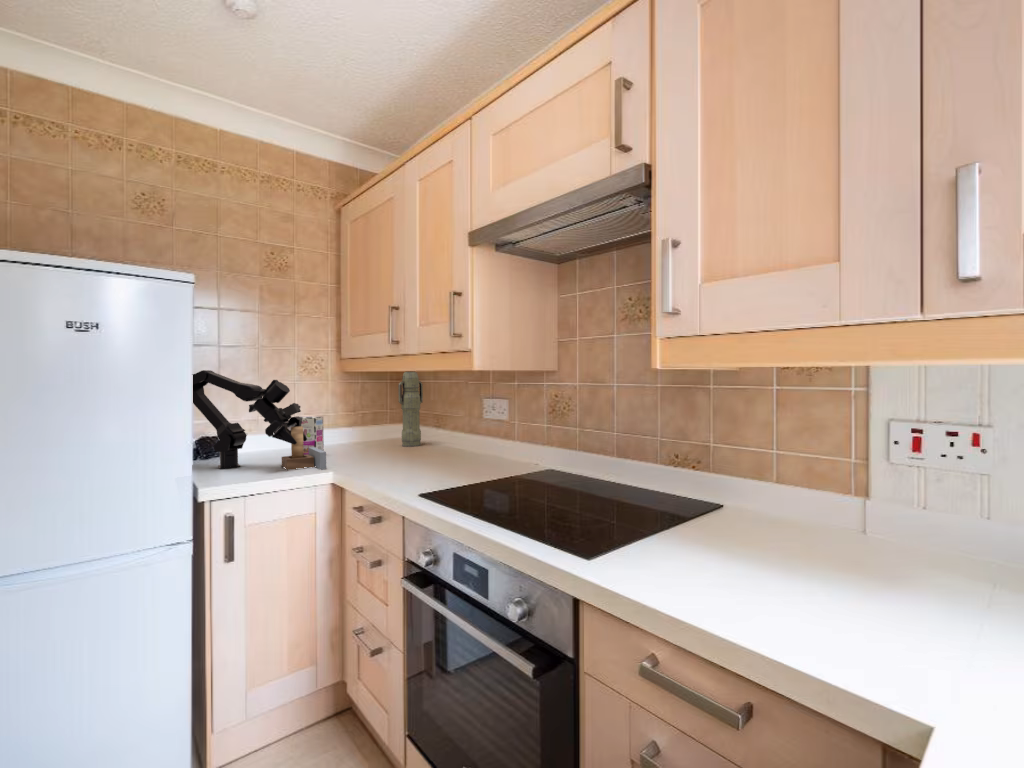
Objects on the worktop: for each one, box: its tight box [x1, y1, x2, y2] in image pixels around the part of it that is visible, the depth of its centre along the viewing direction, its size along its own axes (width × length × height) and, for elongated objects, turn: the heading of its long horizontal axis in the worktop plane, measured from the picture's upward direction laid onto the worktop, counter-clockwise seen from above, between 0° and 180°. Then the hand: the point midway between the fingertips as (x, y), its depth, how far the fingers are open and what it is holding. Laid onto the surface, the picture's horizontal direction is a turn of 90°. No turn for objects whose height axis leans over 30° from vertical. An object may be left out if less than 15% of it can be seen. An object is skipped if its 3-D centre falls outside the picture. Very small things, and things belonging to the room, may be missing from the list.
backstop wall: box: [309, 447, 327, 470], centre depth 178 cm, size 16×2×6 cm, turn 36°
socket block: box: [281, 454, 315, 470], centre depth 177 cm, size 9×9×4 cm
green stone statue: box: [397, 371, 424, 448], centre depth 230 cm, size 9×12×35 cm
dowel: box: [290, 426, 304, 459], centre depth 177 cm, size 4×4×14 cm
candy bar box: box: [299, 415, 325, 455], centre depth 202 cm, size 11×5×16 cm, turn 68°
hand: (301, 441), depth 177 cm, fingers open, 9 cm apart
